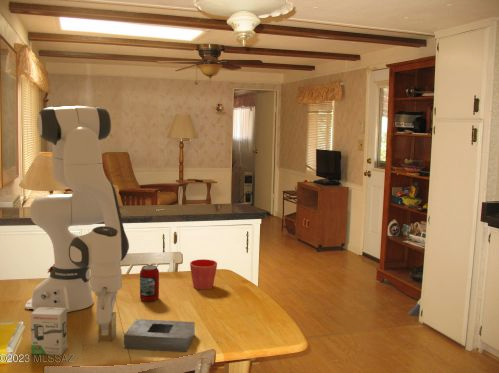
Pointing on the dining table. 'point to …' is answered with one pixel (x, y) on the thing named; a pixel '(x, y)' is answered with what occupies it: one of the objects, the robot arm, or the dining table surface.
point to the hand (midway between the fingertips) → (106, 328)
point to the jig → (159, 335)
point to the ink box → (48, 331)
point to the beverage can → (149, 283)
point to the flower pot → (203, 273)
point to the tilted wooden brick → (112, 330)
